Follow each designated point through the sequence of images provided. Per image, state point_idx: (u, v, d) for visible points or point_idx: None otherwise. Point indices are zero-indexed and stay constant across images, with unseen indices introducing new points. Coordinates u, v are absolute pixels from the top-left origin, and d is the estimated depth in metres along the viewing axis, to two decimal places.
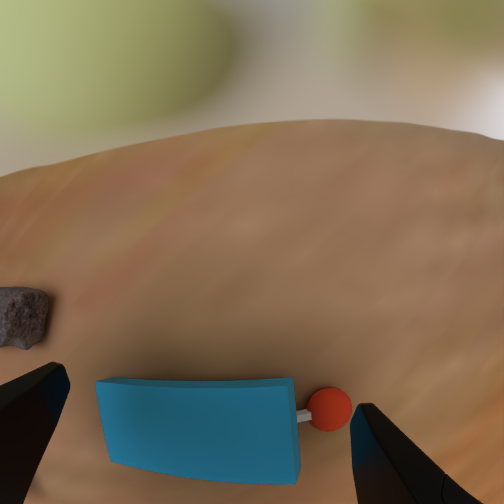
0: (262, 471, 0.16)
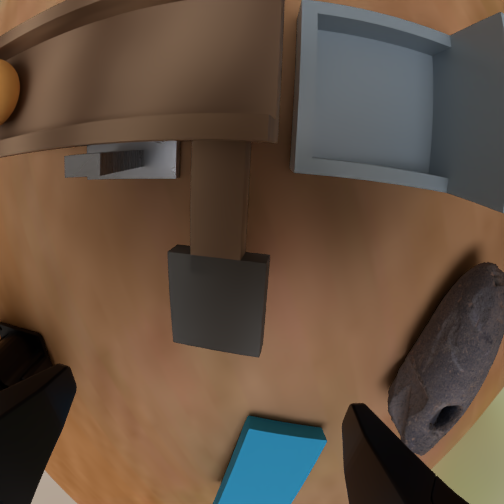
0: None
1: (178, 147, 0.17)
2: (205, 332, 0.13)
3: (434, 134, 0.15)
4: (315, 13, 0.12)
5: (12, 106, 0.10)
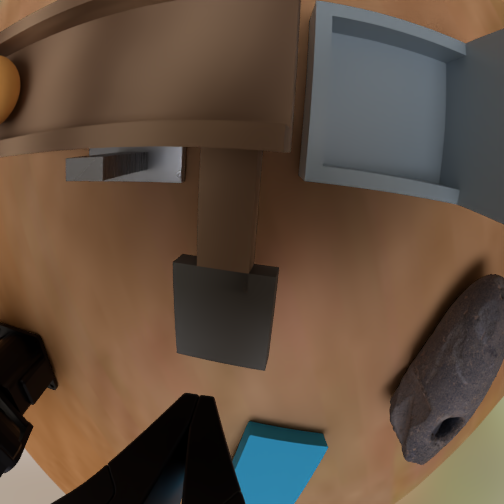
0: None
1: (184, 150, 0.16)
2: (210, 344, 0.13)
3: (446, 143, 0.15)
4: (330, 15, 0.11)
5: (12, 105, 0.10)
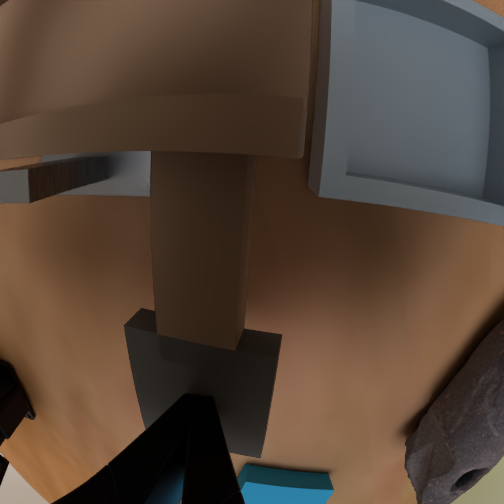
0: None
1: None
2: None
3: (492, 147, 0.10)
4: None
5: None
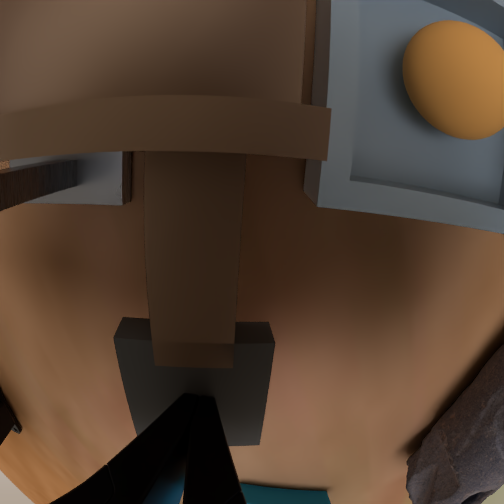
0: None
1: (127, 155, 0.10)
2: None
3: None
4: None
5: (460, 90, 0.06)
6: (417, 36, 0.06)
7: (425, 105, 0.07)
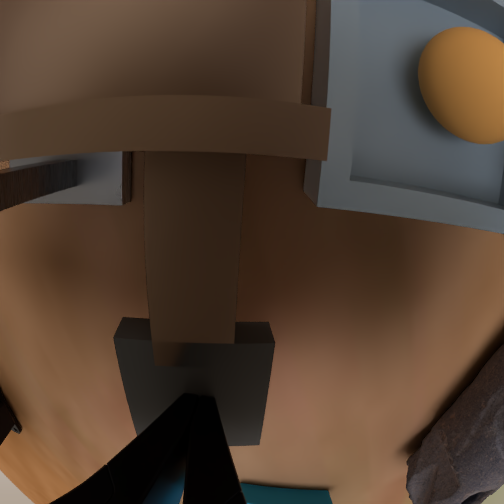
0: None
1: (127, 155, 0.10)
2: None
3: None
4: None
5: None
6: (488, 45, 0.05)
7: (486, 117, 0.06)
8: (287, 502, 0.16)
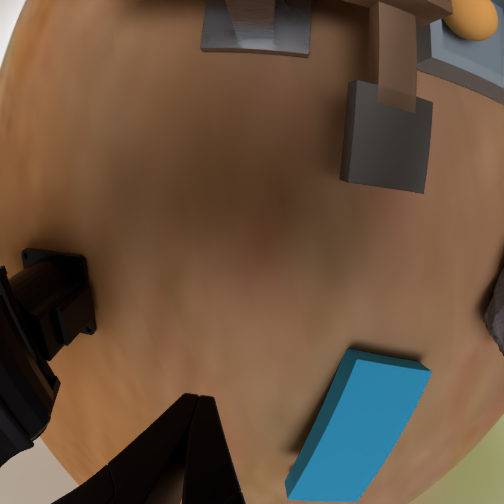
0: (307, 485, 0.20)
1: (309, 29, 0.14)
2: (383, 166, 0.12)
3: None
4: None
5: (474, 11, 0.09)
6: None
7: (456, 18, 0.11)
8: (394, 363, 0.20)
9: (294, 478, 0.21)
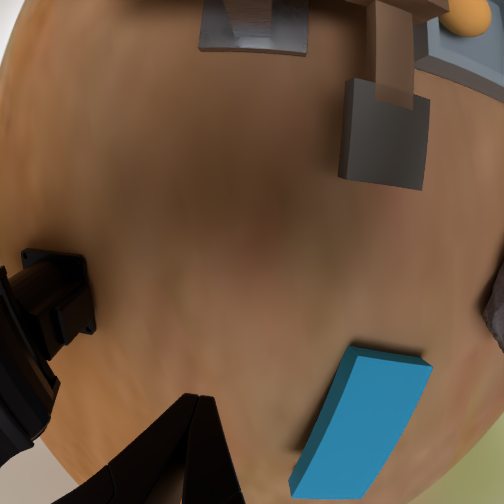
0: (310, 483, 0.20)
1: None
2: (381, 163, 0.12)
3: None
4: None
5: (462, 6, 0.10)
6: None
7: (446, 15, 0.11)
8: (395, 359, 0.20)
9: (298, 476, 0.21)
